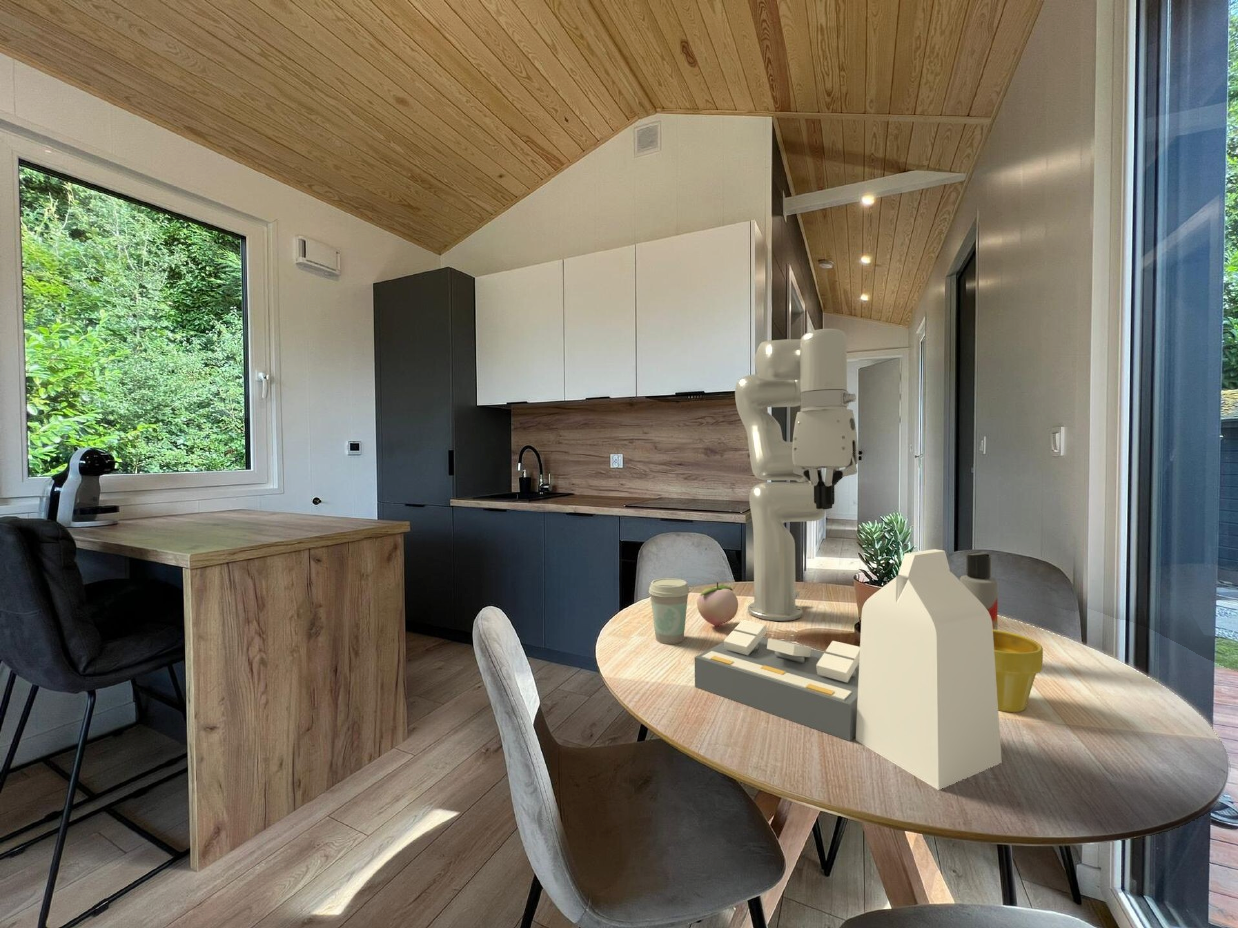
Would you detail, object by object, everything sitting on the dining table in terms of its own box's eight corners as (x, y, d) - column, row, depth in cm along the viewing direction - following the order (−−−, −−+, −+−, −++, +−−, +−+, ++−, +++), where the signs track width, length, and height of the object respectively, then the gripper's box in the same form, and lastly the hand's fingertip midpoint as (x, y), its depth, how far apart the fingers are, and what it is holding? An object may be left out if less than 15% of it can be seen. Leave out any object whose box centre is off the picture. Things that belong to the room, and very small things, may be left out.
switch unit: (742, 657, 98) (742, 625, 98) (885, 698, 82) (885, 659, 81) (694, 686, 87) (694, 650, 87) (849, 741, 70) (849, 696, 70)
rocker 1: (744, 627, 94) (742, 618, 94) (766, 632, 91) (765, 623, 91) (725, 648, 89) (723, 640, 89) (748, 655, 86) (746, 646, 86)
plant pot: (1057, 723, 73) (1057, 655, 73) (972, 714, 76) (972, 648, 76) (1023, 691, 83) (1024, 630, 83) (950, 683, 86) (950, 625, 86)
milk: (938, 790, 60) (938, 565, 59) (855, 740, 70) (854, 549, 70) (1001, 762, 65) (1001, 555, 64) (915, 720, 75) (915, 541, 74)
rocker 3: (833, 649, 83) (832, 639, 83) (862, 656, 80) (861, 646, 80) (817, 674, 79) (815, 664, 78) (847, 682, 76) (846, 672, 75)
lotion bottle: (992, 668, 92) (992, 556, 91) (955, 659, 96) (955, 552, 96) (1001, 660, 95) (1001, 552, 95) (965, 651, 100) (965, 548, 99)
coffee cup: (641, 639, 109) (640, 583, 108) (666, 629, 115) (665, 575, 115) (673, 650, 103) (672, 590, 103) (698, 638, 109) (697, 581, 109)
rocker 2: (784, 650, 88) (786, 640, 89) (810, 657, 86) (811, 646, 86) (766, 648, 84) (768, 637, 84) (793, 655, 81) (794, 643, 81)
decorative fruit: (721, 637, 110) (720, 590, 109) (691, 627, 116) (690, 583, 115) (747, 626, 116) (746, 582, 116) (717, 618, 122) (716, 575, 122)
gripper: (876, 400, 88) (876, 509, 88) (791, 407, 98) (792, 504, 98) (861, 398, 82) (862, 513, 82) (773, 404, 92) (774, 507, 93)
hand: (824, 508), depth 90 cm, fingers closed
